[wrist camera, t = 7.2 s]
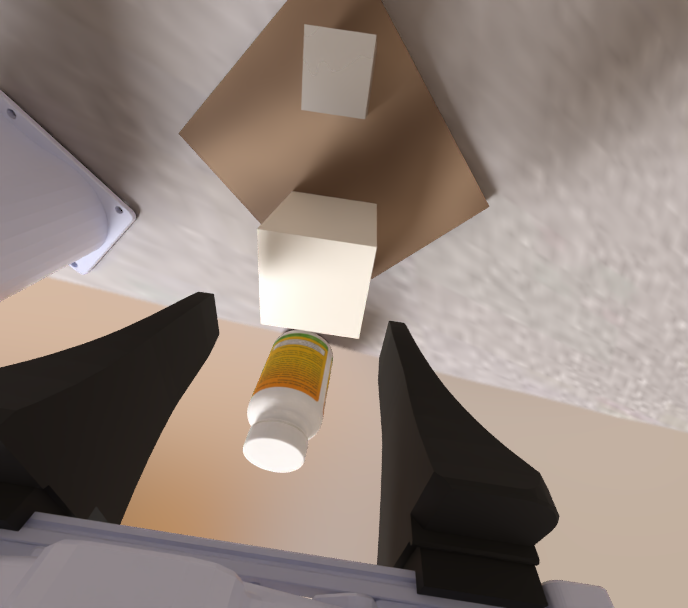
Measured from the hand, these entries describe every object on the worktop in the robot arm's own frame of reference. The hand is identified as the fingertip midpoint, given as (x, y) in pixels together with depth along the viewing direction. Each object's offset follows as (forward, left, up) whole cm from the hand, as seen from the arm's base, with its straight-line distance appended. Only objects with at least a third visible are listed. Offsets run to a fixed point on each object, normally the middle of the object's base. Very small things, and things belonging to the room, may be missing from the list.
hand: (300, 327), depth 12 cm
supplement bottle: (+7, -9, -11) cm, 16 cm away
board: (-3, +3, -10) cm, 11 cm away
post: (-6, +6, -9) cm, 13 cm away
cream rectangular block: (0, 0, -9) cm, 9 cm away
